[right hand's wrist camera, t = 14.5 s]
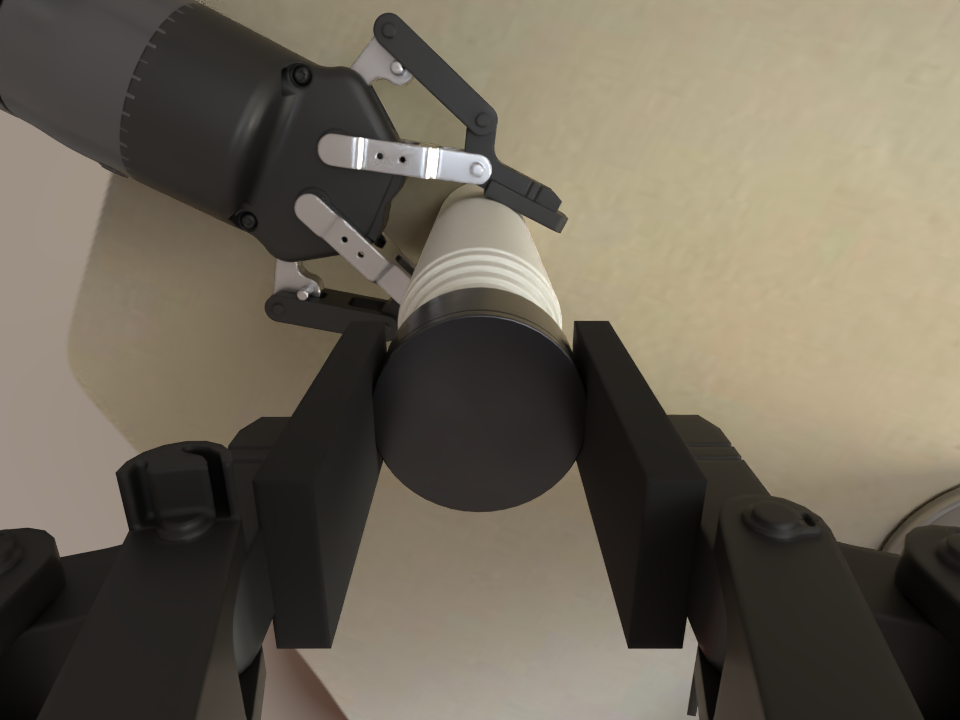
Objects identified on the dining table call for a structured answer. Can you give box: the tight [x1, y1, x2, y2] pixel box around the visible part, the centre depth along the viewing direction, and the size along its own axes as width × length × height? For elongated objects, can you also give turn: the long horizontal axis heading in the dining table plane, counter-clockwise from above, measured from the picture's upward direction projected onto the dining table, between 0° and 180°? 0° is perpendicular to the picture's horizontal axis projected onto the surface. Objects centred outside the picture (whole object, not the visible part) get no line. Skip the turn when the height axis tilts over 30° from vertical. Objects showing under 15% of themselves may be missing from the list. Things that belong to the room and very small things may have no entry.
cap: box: [372, 287, 587, 512], centre depth 13 cm, size 4×4×2 cm
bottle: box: [398, 184, 562, 330], centre depth 24 cm, size 5×5×23 cm
